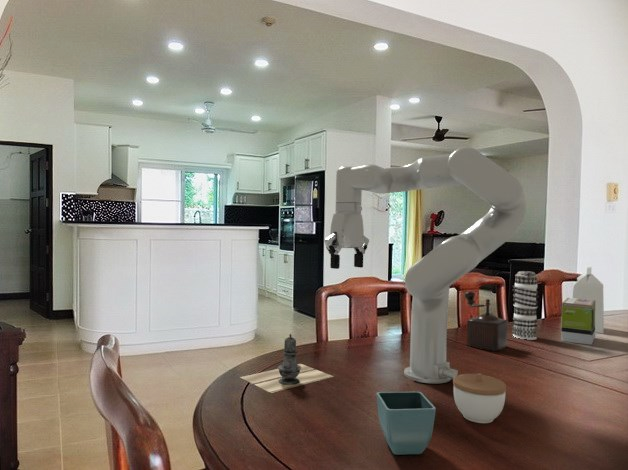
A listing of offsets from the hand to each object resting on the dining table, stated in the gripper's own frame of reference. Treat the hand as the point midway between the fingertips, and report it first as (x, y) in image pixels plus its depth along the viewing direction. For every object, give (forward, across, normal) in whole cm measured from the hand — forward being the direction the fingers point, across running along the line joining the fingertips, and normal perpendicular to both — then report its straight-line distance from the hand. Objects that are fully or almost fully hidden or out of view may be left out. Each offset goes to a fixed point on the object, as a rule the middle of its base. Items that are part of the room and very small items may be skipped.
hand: (346, 267), depth 135 cm
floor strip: (+28, +23, -1) cm, 36 cm away
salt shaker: (+27, +25, +6) cm, 37 cm away
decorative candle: (+28, -80, +16) cm, 86 cm away
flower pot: (+28, +28, +44) cm, 59 cm away
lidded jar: (+28, +4, +45) cm, 53 cm away
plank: (+28, +23, +6) cm, 37 cm away
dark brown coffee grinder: (+29, -55, +12) cm, 63 cm away
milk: (+29, -118, +25) cm, 124 cm away
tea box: (+29, -94, +30) cm, 103 cm away
